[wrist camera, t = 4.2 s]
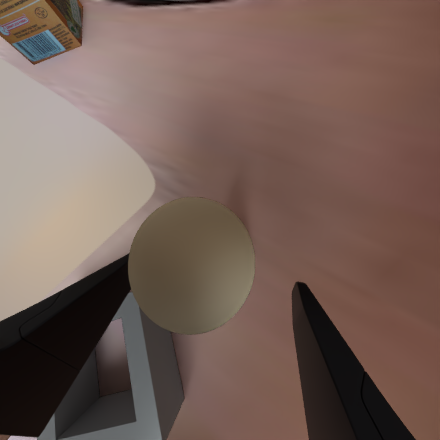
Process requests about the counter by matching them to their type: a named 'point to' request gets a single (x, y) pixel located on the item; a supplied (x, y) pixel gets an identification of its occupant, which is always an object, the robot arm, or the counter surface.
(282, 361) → the counter surface
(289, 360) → the counter surface
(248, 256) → the birch peg
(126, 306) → the frame
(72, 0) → the milk carton
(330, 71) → the counter surface
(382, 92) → the counter surface
